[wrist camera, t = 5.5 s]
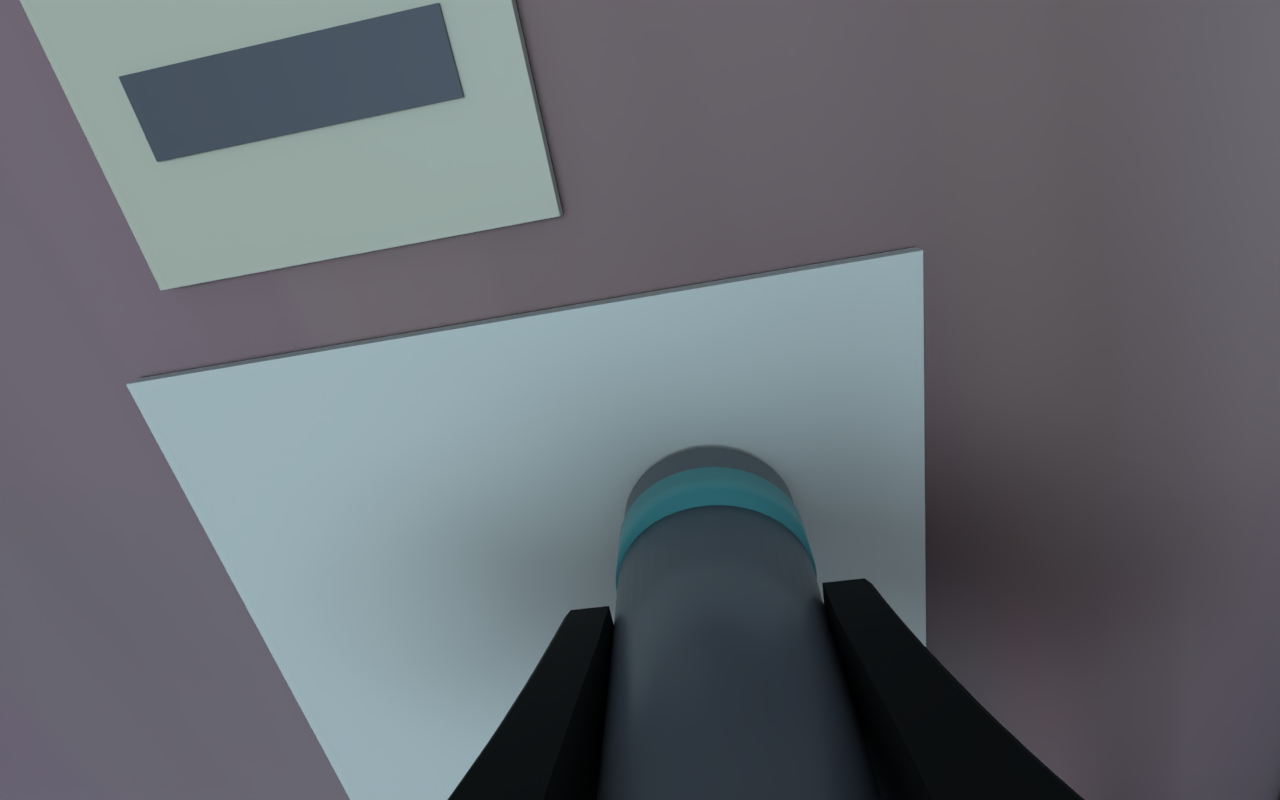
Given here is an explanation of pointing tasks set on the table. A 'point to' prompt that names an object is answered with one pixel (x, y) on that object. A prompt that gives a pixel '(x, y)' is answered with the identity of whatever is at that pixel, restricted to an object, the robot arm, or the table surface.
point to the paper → (532, 484)
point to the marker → (724, 646)
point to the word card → (301, 124)
